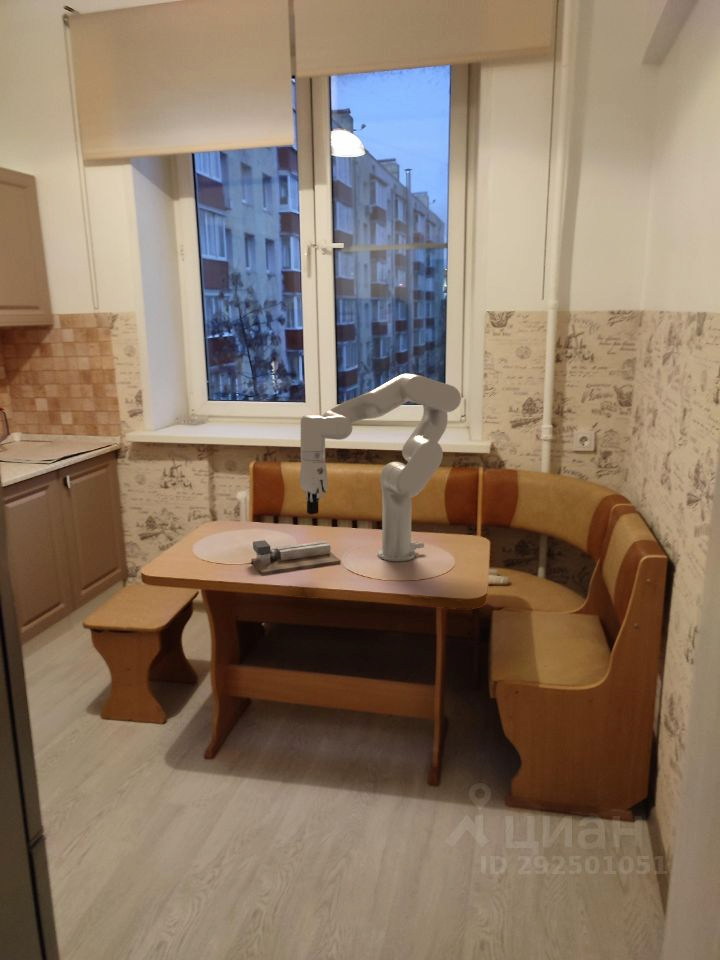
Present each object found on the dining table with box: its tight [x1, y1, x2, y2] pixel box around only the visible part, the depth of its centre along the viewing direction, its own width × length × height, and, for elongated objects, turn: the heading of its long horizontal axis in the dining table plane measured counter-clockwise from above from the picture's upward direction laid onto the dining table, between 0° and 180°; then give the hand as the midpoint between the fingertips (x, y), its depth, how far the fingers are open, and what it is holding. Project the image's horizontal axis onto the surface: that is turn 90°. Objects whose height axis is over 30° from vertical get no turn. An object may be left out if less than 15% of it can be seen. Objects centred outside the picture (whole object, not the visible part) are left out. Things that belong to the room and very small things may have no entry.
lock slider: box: [252, 539, 271, 555], centre depth 213 cm, size 4×6×2 cm, turn 23°
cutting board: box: [251, 551, 342, 576], centre depth 216 cm, size 26×13×1 cm, turn 113°
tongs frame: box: [255, 540, 328, 565], centre depth 217 cm, size 24×6×3 cm, turn 113°
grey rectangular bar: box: [270, 542, 332, 561], centre depth 218 cm, size 20×4×3 cm, turn 114°
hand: (312, 513), depth 208 cm, fingers closed
